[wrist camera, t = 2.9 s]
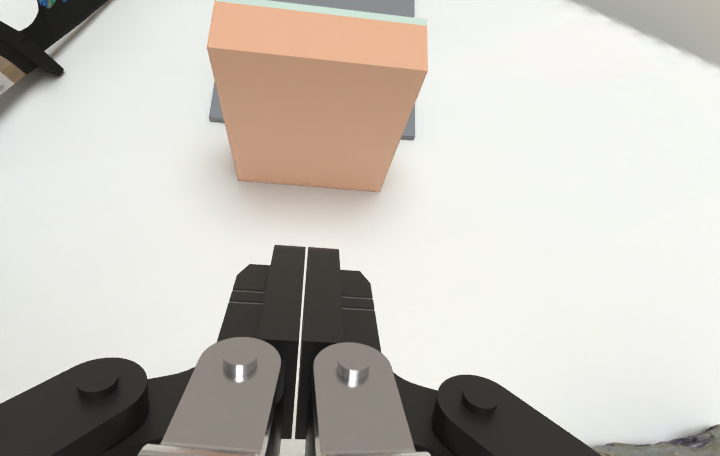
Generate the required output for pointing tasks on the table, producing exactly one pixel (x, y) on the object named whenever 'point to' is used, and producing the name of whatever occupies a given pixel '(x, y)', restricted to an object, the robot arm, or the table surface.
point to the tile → (315, 90)
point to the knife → (39, 38)
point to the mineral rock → (669, 446)
